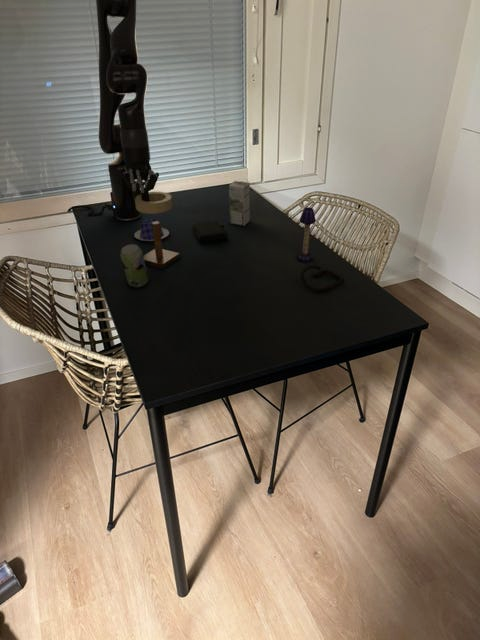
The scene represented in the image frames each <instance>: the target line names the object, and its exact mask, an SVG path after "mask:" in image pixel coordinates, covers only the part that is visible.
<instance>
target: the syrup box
mask: <svg viewBox="0 0 480 640" xmlns="http://www.w3.org/2000/svg"><path fill="white" fill-rule="evenodd" d="M250 189H251V185H250V182H247V181H238V180H235V181H232V182H231V183H230V184H229V185H228V194H229V195H228V196H229V224H231V225H236V226H241V227H242V226H243V227H245V226H246V225H247V224H248V223H250V221H251V214H250V213H251V212H250V211H251V209H250V202H251V201H250V199H251V198H250V197H251V196H250V195H251V193H250V192H251V191H250Z"/></svg>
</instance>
